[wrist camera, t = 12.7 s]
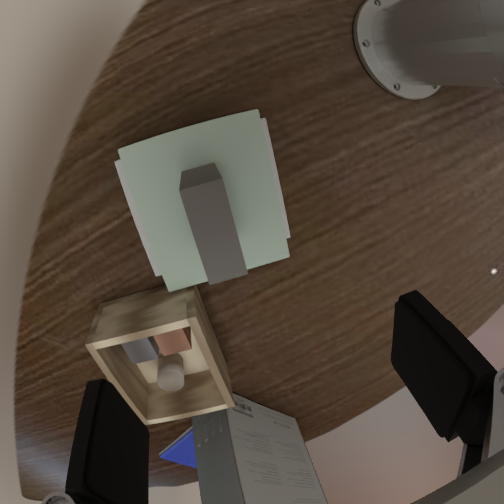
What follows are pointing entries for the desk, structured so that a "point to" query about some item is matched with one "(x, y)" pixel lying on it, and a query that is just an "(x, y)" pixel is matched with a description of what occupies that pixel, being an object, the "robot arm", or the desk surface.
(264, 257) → the lid
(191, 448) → the hard drive
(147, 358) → the crate
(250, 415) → the hard drive box
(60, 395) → the desk surface
